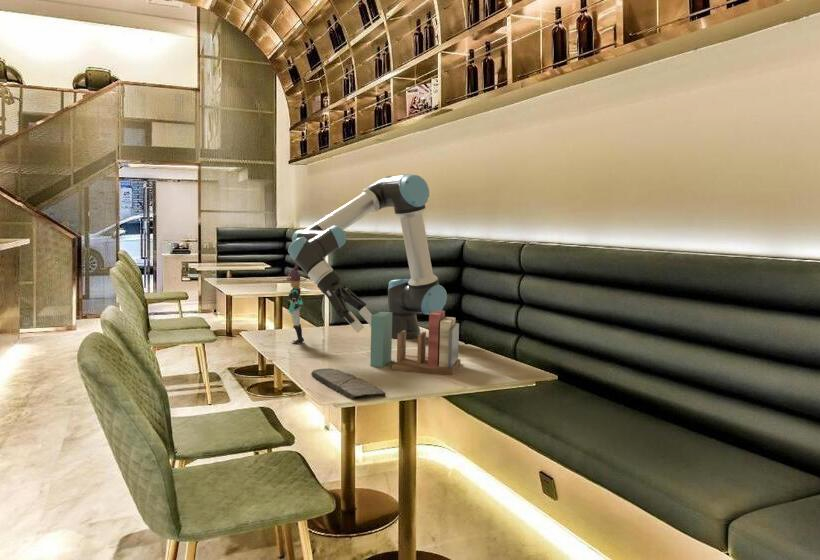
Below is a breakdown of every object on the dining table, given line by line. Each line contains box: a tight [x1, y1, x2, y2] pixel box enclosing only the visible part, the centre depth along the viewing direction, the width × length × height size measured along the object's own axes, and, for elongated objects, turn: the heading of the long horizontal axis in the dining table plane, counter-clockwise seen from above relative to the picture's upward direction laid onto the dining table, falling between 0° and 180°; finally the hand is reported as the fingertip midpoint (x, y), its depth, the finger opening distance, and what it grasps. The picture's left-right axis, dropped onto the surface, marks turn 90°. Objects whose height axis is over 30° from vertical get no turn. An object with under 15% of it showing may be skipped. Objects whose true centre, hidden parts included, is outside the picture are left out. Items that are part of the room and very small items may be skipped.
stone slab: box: [310, 368, 386, 401], centre depth 169 cm, size 10×3×30 cm
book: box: [369, 311, 393, 368], centre depth 197 cm, size 10×4×16 cm, turn 166°
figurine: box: [282, 263, 308, 345], centre depth 226 cm, size 20×9×30 cm, turn 2°
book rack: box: [391, 310, 461, 376], centre depth 193 cm, size 16×18×18 cm
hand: (367, 326), depth 196 cm, fingers open, 13 cm apart
